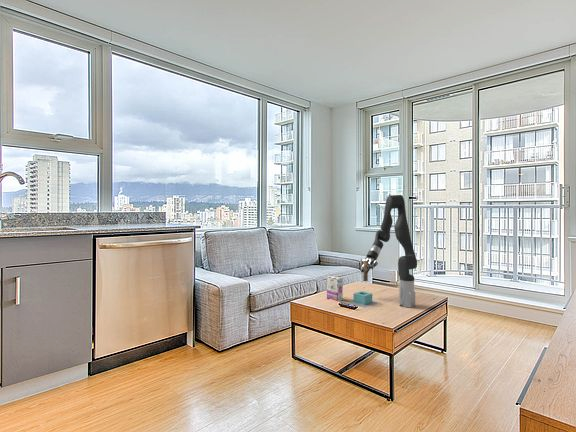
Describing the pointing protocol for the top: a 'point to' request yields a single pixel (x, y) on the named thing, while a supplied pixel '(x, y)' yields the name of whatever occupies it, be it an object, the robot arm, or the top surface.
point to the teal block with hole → (362, 297)
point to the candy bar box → (334, 288)
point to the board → (363, 305)
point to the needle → (365, 275)
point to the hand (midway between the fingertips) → (363, 272)
